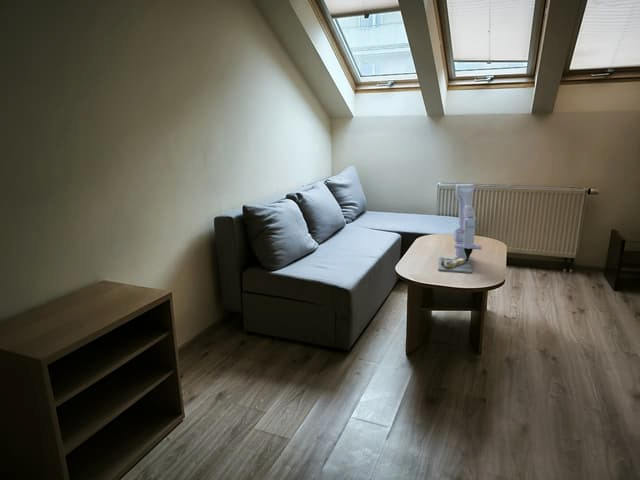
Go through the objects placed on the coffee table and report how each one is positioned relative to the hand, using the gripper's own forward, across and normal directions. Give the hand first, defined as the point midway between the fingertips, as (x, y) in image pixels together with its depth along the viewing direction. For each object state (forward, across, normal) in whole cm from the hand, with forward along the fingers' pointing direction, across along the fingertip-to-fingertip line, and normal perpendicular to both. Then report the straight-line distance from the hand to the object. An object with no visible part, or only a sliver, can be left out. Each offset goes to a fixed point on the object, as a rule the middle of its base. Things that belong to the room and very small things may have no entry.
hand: (467, 260), depth 259 cm
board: (+2, -7, -5) cm, 9 cm away
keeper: (+1, -12, -7) cm, 13 cm away
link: (+1, -7, -6) cm, 9 cm away
